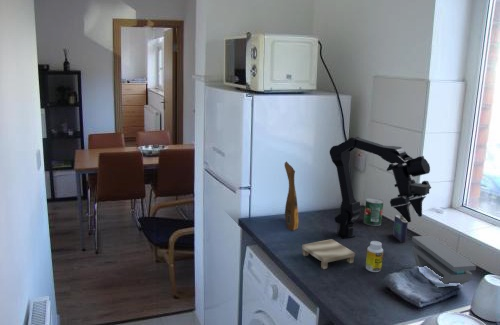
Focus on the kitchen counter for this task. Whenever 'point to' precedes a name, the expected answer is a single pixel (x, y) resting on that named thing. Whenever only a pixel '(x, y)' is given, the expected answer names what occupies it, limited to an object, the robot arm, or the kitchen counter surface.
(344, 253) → the beige wooden stand
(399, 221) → the flask
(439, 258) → the sharpening stone
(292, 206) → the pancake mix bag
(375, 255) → the supplement bottle
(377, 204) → the canned tomato
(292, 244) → the kitchen counter surface
